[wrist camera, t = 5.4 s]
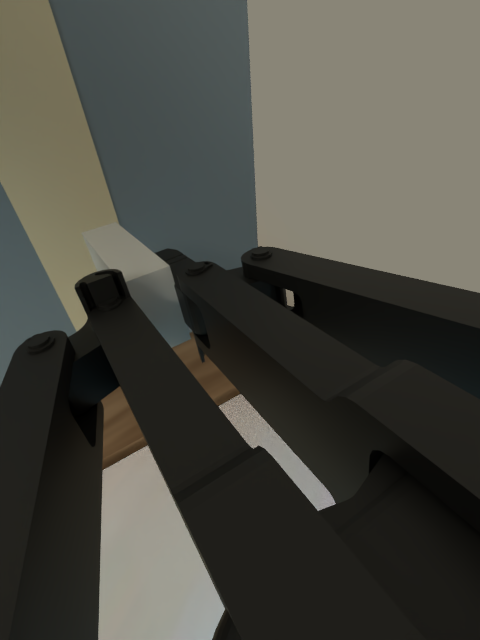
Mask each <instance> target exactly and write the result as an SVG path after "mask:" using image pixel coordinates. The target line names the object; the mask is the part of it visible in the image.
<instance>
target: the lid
mask: <svg viewBox="0 0 480 640" xmlns="http://www.w3.org/2000/svg"><path fill="white" fill-rule="evenodd" d="M256 220H257V219H256V196H255V174H254V150H253V129H252V106H251V82H250V59H249V38H248V14H247V0H0V386H1V384H2V381H3V379H4V376H5V374H6V371H7V369H8V366H9V364H10V361H11V359H12V356H13V353H14V352H15V350H16V349H17V348H18V346H20V345H21V344H22V343H23V342H25V340H26V339H28V338H30V337H32V336H33V335H36V334H41V333H43V332H47V331H52V330H60V331H63V332H65V333H66V334H67V336H68V337H69V336H71V335H72V334H74V333H75V332H77V331H78V330H80V329H81V328H82V327H83V326H84V325H85V323H86V322H87V319H88V318H87V314H86V312H85V310H84V308H83V306H82V304H81V301H80V299H79V297H78V295H77V293H76V291H75V284H76V283H77V282H78V281H79V280H80V279H82V278H83V277H85V276H87V275H89V274H91V273H94V272H97V270H96V267H95V265H94V262H93V260H92V257H91V255H90V253H89V250H88V248H87V245H86V243H85V241H84V238H83V236H82V232H85V231H89V230H92V229H95V228H98V227H102V226H105V225H108V224H111V223H114V222H116V223H118V224H119V225H120V226H121V227H123V228H124V229H125V230H126V231H127V232H129V233H130V234H131V235H132V236H134V237H135V238H136V239H137V240H139V241H140V242H141V243H142V244H144V245H145V246H146V247H147V248H148V249H150V250H151V251H152V252H153V253H156V252H159V251H161V250H164V249H167V248H169V249H175V250H178V251H180V252H181V253H183V255H186V256H187V257H188V258H190V259H192V260H193V261H194V262H202V261H210V262H213V263H216V264H217V265H219V266H220V267H222V268H224V269H225V270H230V269H235V268H239V267H242V263H241V256H242V255H243V254H244V253H245V252H247V251H249V250H251V249H252V248H257V247H258V241H257V221H256ZM187 327H188V326H187ZM188 330H189V333H190V332H192V330H191V329H190V328H189V327H188Z"/></svg>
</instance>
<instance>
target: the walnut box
mask: <svg viewBox="0 0 480 640" xmlns="http://www.w3.org/2000/svg"><path fill="white" fill-rule="evenodd" d="M189 334H190V337H191V339H190V340H188V341H185V342H183V343H181V344H179V345H177V346H174V347H172V349H173V350H174V352H175V353H176V354H177V355H178V357H179V358H180V359H181V360H182V362H183V363H184V364H185V365H186V367H187V368H188V369H189V371H190V372H191V373H192V374H193V376H194V377H195V378H196V379H197V381H198V382H199V383H200V384H201V386H202V387H203V388H204V390H205V391H206V392H207V393H208V395H209V396H210V397H211V398H212V400H213V401H214V402H215V403H216V405H217V406H219V405H221V404H223V403H224V402H226V401H228V400H230V399H232V398H233V397H235V396H237V395H239V394H241V393H240V392H239V391H238V390H237V389H236V387H235V386H234V385H233V384H232V383H231V382H230V381H229V380H228V379H227V377H226V376H225V375H224V374H223V373H222V372H221V371H220V370H219V369H218V367H217V366H216V365H215V364H214V363H213V362H212V361H211V360H210V359H209V357H208V356H207V355H206V354H205V356H204V359H205V362H203V363H202V361H201V359H200V355H199V352H198V348H197V345H196V341H195V338H194V334H193V331H192V332H190V333H189ZM101 402H102V404H103V407H104V427H103V466H102V470H103V469H105V468H107V467H109V466H110V465H112V464H114V463H116V462H118V461H120V460H121V459H123V458H125V457H127V456H129V455H130V454H132V453H134V452H136V451H138V450H139V449H141V448H143V447H145V446H147V445H148V444H147V442H146V440H145V438H144V436H143V434H142V432H141V430H140V427H139V425H138V423H137V421H136V419H135V417H134V415H133V413H132V410H131V408H130V406H129V404H128V402H127V400H126V398H125V396H124V394H123V391H122V389H121V387H120V386H119V387H118V388H117V389H115V390H114V391H113V392H111V393H110V394H109V395H107V396H106V397H105V398H103V399H102V400H101Z"/></svg>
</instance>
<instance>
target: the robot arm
mask: <svg viewBox="0 0 480 640" xmlns="http://www.w3.org/2000/svg"><path fill="white" fill-rule="evenodd" d="M82 236H83V238H84V241H85V243H86V245H87V248H88V250H89V253H90V255H91V257H92V260H93V262H94V265H95V267H96V270H97V272H94V273H91V274H89V275H87V276H85V277H83V278H82V279H80V280H79V281H78V282H77V283H76V284H75V291H76V293H77V295H78V297H79V299H80V301H81V304H82V306H83V308H84V310H85V312H86V314H87V318H88V319H87V322H86V323H85V325H84V326H83V327H82V328H81V329H80V330H78V331H77V332H75V333H74V334H72V335H71V336H69V337H68V336H67V334H66V333H65V332H63V331H60V330H52V331H47V332H43V333H41V334H36V335H33V336H32V337H30V338H28V339H26V340H25V342H23V343H22V344H21V345H20V346H18V348H17V349H16V350H15V352H14V353H13V356H12V359H11V361H10V364H9V366H8V369H7V371H6V374H5V376H4V379H3V381H2V384H1V386H0V640H98V622H99V583H100V544H101V505H102V466H103V427H104V407H103V404H102V402H101V400H102V399H103V398H105V397H106V396H107V395H109V394H110V393H111V392H113V391H114V390H115V389H117V388H118V387H119V386H120V387H121V389H122V391H123V394H124V396H125V398H126V400H127V402H128V404H129V406H130V408H131V410H132V413H133V415H134V417H135V419H136V421H137V423H138V425H139V427H140V430H141V432H142V434H143V436H144V438H145V440H146V442H147V444H148V446H149V449H150V451H151V453H152V455H153V457H154V459H155V461H156V463H157V465H158V468H159V470H160V472H161V474H162V476H163V478H164V480H165V482H166V484H167V487H168V489H169V491H170V493H171V495H172V497H173V499H174V501H175V504H176V506H177V508H178V510H179V512H180V514H181V516H182V518H183V520H184V523H185V525H186V527H187V529H188V531H189V533H190V535H191V537H192V539H193V542H194V544H195V546H196V548H197V550H198V552H199V554H200V556H201V559H202V561H203V563H204V565H205V567H206V569H207V571H208V573H209V575H210V578H211V580H212V582H213V584H214V586H215V588H216V590H217V592H218V595H219V597H220V599H221V601H222V603H223V605H224V607H225V611H224V613H223V615H222V617H221V619H220V621H219V624H218V626H217V628H216V630H215V633H214V636H213V639H212V640H480V293H477V292H472V291H468V290H464V289H459V288H455V287H450V286H446V285H441V284H437V283H432V282H428V281H423V280H419V279H414V278H409V277H405V276H401V275H396V274H392V273H387V272H383V271H378V270H373V269H369V268H364V267H360V266H355V265H351V264H347V263H342V262H338V261H333V260H329V259H324V258H320V257H315V256H310V255H306V254H302V253H297V252H293V251H288V250H284V249H279V248H275V247H262V246H260V247H257V248H252V249H251V250H249V251H247V252H245V253H244V254H243V255H242V256H241V263H242V267H239V268H235V269H230V270H225V269H224V268H222V267H220V266H219V265H217V264H216V263H213V262H210V261H202V262H194V261H193V260H192V259H190V258H188V257H187V256H186V255H183V253H181V252H180V251H178V250H175V249H169V248H167V249H164V250H161V251H159V252H156V253H153V252H152V251H151V250H150V249H148V248H147V247H146V246H145V245H144V244H142V243H141V242H140V241H139V240H137V239H136V238H135V237H134V236H132V235H131V234H130V233H129V232H127V231H126V230H125V229H124V228H123V227H121V226H120V225H119V224H118V223H116V222H114V223H111V224H108V225H105V226H102V227H98V228H95V229H92V230H89V231H85V232H82ZM285 289H287V290H290V291H293V293H294V303H295V304H294V307H291V306H288V305H287V299H286V290H285ZM187 326H188V327H189V328H190V329H191V330H192V331H193V334H194V338H195V341H196V345H197V348H198V352H199V355H200V359H201V361H202V363H203V362H205V359H204V356H205V354H206V355H207V356H208V357H209V359H210V360H211V361H212V362H213V363H214V364H215V365H216V366H217V367H218V369H219V370H220V371H221V372H222V373H223V374H224V375H225V376H226V377H227V379H228V380H229V381H230V382H231V383H232V384H233V385H234V386H235V387H236V389H237V390H238V391H239V392H240V393H241V394H242V395H243V396H244V397H245V398H246V400H247V401H248V402H249V403H250V404H251V405H252V406H253V407H254V408H255V410H256V411H257V412H258V413H259V414H260V415H261V416H262V417H263V418H264V420H265V421H266V422H267V423H268V424H269V425H270V426H271V427H272V428H273V429H274V431H275V432H276V433H277V434H278V435H279V436H280V437H281V438H282V439H283V441H284V442H285V443H286V444H287V445H288V446H289V447H290V448H291V449H292V451H293V452H294V453H295V454H296V455H297V456H298V457H299V458H300V459H301V460H302V462H303V463H304V464H305V465H306V466H307V467H308V468H309V469H310V470H311V472H312V473H313V474H314V475H315V476H316V477H317V478H318V479H319V480H320V482H321V483H322V484H323V485H324V486H325V487H326V488H327V490H328V491H329V492H330V494H331V495H332V497H333V499H334V501H335V503H336V504H335V505H333V506H330V507H327V508H325V509H322V510H319V511H317V509H316V508H315V507H314V506H313V505H312V503H311V502H310V501H309V500H308V499H307V497H306V496H305V495H304V494H303V493H302V491H301V490H300V489H299V488H298V487H297V485H296V484H295V483H294V482H293V481H292V479H291V478H290V477H289V476H288V475H287V474H286V472H285V471H284V470H283V469H282V468H281V466H280V465H279V464H278V463H277V462H276V460H275V459H274V458H273V457H272V456H271V455H270V454H269V453H268V452H267V451H266V450H265V449H264V448H262V447H260V446H257V447H256V448H254V449H253V448H251V447H250V446H249V445H248V444H247V443H246V441H245V440H244V439H243V438H242V436H241V435H240V434H239V433H238V431H237V430H236V429H235V427H234V426H233V425H232V424H231V422H230V421H229V420H228V419H227V417H226V416H225V415H224V414H223V412H222V411H221V410H220V409H219V407H218V406H217V405H216V403H215V402H214V401H213V400H212V398H211V397H210V396H209V395H208V393H207V392H206V391H205V390H204V388H203V387H202V386H201V384H200V383H199V382H198V381H197V379H196V378H195V377H194V376H193V374H192V373H191V372H190V371H189V369H188V368H187V367H186V365H185V364H184V363H183V362H182V360H181V359H180V358H179V357H178V355H177V354H176V353H175V352H174V350H173V349H172V347H174V346H177V345H179V344H181V343H183V342H185V341H188V340H190V339H191V337H190V334H189V330H188V327H187Z"/></svg>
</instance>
